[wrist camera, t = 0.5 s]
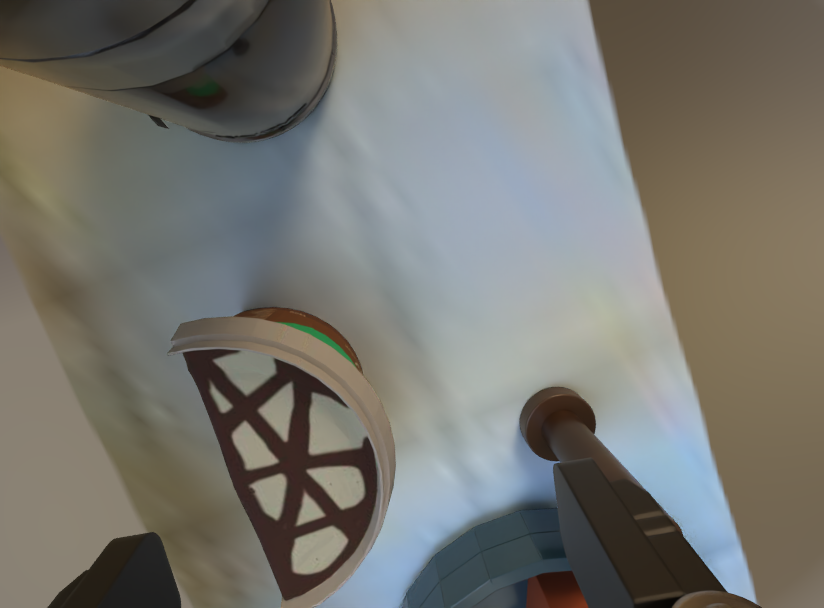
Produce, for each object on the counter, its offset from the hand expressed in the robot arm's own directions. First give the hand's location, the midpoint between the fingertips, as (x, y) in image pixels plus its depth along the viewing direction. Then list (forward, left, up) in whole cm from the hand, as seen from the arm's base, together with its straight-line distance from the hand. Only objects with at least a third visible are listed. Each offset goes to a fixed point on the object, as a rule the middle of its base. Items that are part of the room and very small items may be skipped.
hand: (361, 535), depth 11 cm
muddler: (+9, +8, -18) cm, 22 cm away
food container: (+2, -3, -18) cm, 19 cm away
